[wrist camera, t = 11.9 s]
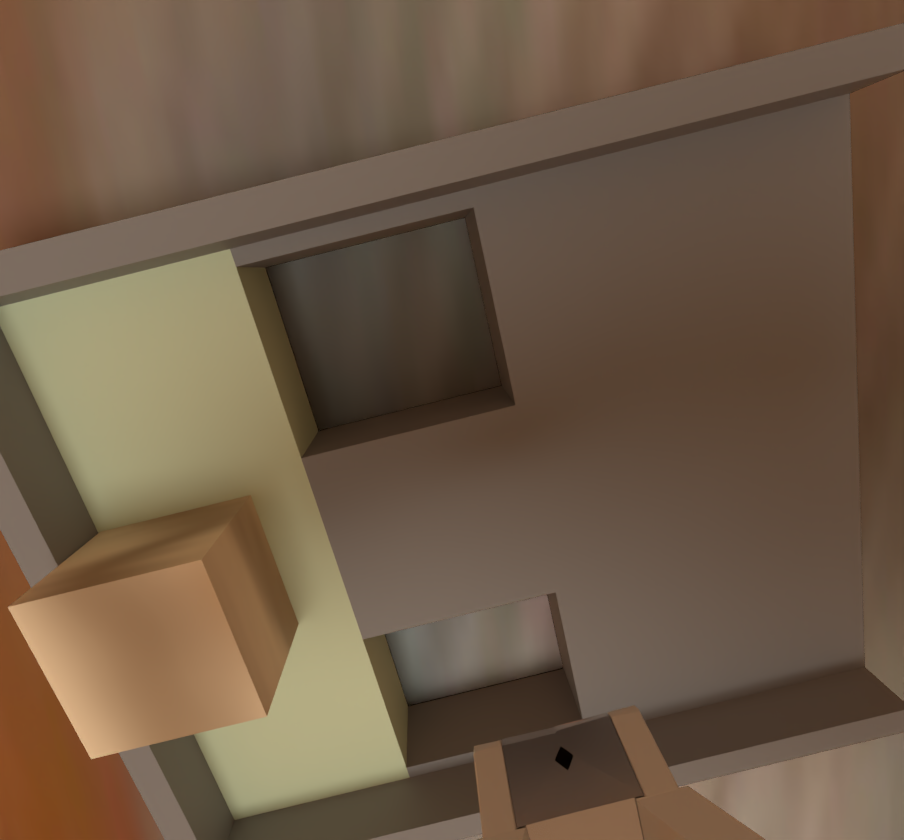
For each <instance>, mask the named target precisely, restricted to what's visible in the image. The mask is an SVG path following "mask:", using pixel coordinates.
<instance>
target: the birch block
mask: <svg viewBox="0 0 904 840" xmlns="http://www.w3.org/2000/svg"><path fill="white" fill-rule="evenodd" d="M8 608H9V610H10V612H11V614H12V616H13V617H14V619H15V621H16V623H17V625H18V627H19V628H20V630H21V632H22V634H23V636H24V638H25V639H26V641H27V643H28V645H29V647H30V649H31V650H32V652H33V654H34V656H35V658H36V659H37V661H38V663H39V665H40V667H41V669H42V670H43V672H44V674H45V676H46V678H47V680H48V681H49V683H50V685H51V687H52V689H53V690H54V692H55V694H56V696H57V698H58V700H59V701H60V703H61V705H62V707H63V709H64V711H65V712H66V714H67V716H68V718H69V720H70V721H71V723H72V725H73V727H74V729H75V731H76V732H77V734H78V736H79V738H80V740H81V742H82V743H83V745H84V747H85V749H86V751H87V753H88V754H89V756H90V758H91V759H94V758H98V757H102V756H106V755H110V754H114V753H119V752H123V751H127V750H131V749H135V748H139V747H143V746H147V745H152V744H156V743H160V742H164V741H168V740H172V739H176V738H181V737H185V736H189V735H193V734H197V733H201V732H205V731H209V730H214V729H218V728H222V727H226V726H230V725H234V724H238V723H243V722H247V721H251V720H255V719H259V718H263V717H267V715H268V712H269V709H270V706H271V703H272V701H273V698H274V695H275V692H276V689H277V686H278V683H279V680H280V677H281V674H282V671H283V668H284V666H285V663H286V660H287V657H288V654H289V651H290V648H291V645H292V642H293V639H294V636H295V633H296V631H297V628H298V625H299V623H298V621H297V618H296V615H295V613H294V610H293V607H292V605H291V602H290V599H289V597H288V594H287V591H286V589H285V586H284V583H283V581H282V578H281V575H280V573H279V570H278V567H277V565H276V562H275V559H274V557H273V554H272V551H271V549H270V546H269V543H268V541H267V538H266V535H265V532H264V530H263V527H262V524H261V522H260V519H259V516H258V514H257V511H256V508H255V506H254V503H253V500H252V498H251V495H249V496H245V497H240V498H236V499H232V500H228V501H224V502H220V503H216V504H212V505H208V506H204V507H200V508H196V509H191V510H187V511H183V512H179V513H175V514H171V515H167V516H163V517H159V518H155V519H151V520H147V521H142V522H138V523H134V524H130V525H126V526H122V527H118V528H114V529H110V530H106V531H102V532H99V533H98V534H97V535H96V536H94V537H93V538H92V539H91V540H89V541H88V542H87V543H86V544H85V545H83V546H82V547H81V548H80V549H78V550H77V551H76V552H75V553H74V554H72V555H71V556H70V557H69V558H67V559H66V560H65V561H64V562H62V563H61V564H60V565H59V566H58V567H56V568H55V569H54V570H53V571H51V572H50V573H49V574H48V575H47V576H45V577H44V578H43V579H42V580H40V581H39V582H38V583H37V584H35V585H34V586H33V587H32V588H31V589H29V590H28V591H27V592H26V593H24V594H23V595H22V596H21V597H20V598H18V599H17V600H16V601H15V602H13V603H12V604H11V605H10V606H8Z"/></svg>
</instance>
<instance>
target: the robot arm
mask: <svg viewBox="0 0 904 840" xmlns="http://www.w3.org/2000/svg"><path fill="white" fill-rule="evenodd" d="M473 756H474V765H475V774H476V782H477V791H478V800H479V809H480V818H481V826H482V835H483V838H481V839H478V840H765V839H764V838H763V837H761V836H760V835H758V834H757V833H755V832H754V831H752V830H751V829H750V828H748V827H747V826H745V825H744V824H742V823H741V822H739V821H738V820H736V819H735V818H734V817H732V816H731V815H729V814H728V813H726V812H725V811H723V810H722V809H721V808H719V807H718V806H716V805H715V804H713V803H712V802H710V801H709V800H707V799H706V798H705V797H703V796H702V795H700V794H699V793H697V792H696V791H694V790H693V789H692V788H690V787H689V786H685V787H681V788H679V787H678V785H677V783H676V781H675V779H674V777H673V775H672V773H671V771H670V769H669V767H668V765H667V764H666V762H665V760H664V758H663V756H662V754H661V752H660V750H659V748H658V746H657V744H656V742H655V740H654V738H653V736H652V734H651V732H650V730H649V728H648V727H647V725H646V723H645V721H644V719H643V717H642V715H641V713H640V711H639V709H638V708H637V707H636V706H634V705H633V706H629V707H626V708H622V709H618V710H614V711H611V712H608V714H607V713H602V714H599V715H595V716H591V717H588V718H584V719H580V720H577V721H573V722H569V723H565V724H562V725H558V726H554V727H553V728H549V729H544V730H540V731H536V732H531V733H527V734H522V735H518V736H514V737H509V738H505V739H502V741H501V740H498V741H494V742H490V743H485V744H481V745H477V746H474V753H473Z"/></svg>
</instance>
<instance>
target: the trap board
mask: <svg viewBox="0 0 904 840" xmlns="http://www.w3.org/2000/svg"><path fill="white" fill-rule="evenodd" d="M902 71H904V23H902V24H898V25H894V26H890V27H886V28H882V29H878V30H874V31H870V32H866V33H862V34H858V35H854V36H850V37H846V38H842V39H838V40H834V41H830V42H826V43H822V44H818V45H815V46H811V47H807V48H803V49H799V50H795V51H791V52H787V53H783V54H779V55H775V56H771V57H767V58H763V59H759V60H755V61H751V62H747V63H743V64H739V65H735V66H731V67H727V68H723V69H719V70H715V71H711V72H707V73H703V74H699V75H695V76H691V77H687V78H684V79H680V80H676V81H672V82H668V83H664V84H660V85H656V86H652V87H648V88H644V89H640V90H636V91H632V92H628V93H624V94H620V95H616V96H612V97H608V98H604V99H600V100H596V101H592V102H588V103H584V104H580V105H576V106H572V107H568V108H564V109H560V110H556V111H553V112H549V113H545V114H541V115H537V116H533V117H529V118H525V119H521V120H517V121H513V122H509V123H505V124H501V125H497V126H493V127H489V128H485V129H481V130H477V131H473V132H469V133H465V134H461V135H457V136H453V137H449V138H445V139H441V140H437V141H433V142H429V143H425V144H422V145H418V146H414V147H410V148H406V149H402V150H398V151H394V152H390V153H386V154H382V155H378V156H374V157H370V158H366V159H362V160H358V161H354V162H350V163H346V164H342V165H338V166H334V167H330V168H326V169H322V170H318V171H314V172H310V173H306V174H302V175H298V176H294V177H291V178H287V179H283V180H279V181H275V182H271V183H267V184H263V185H259V186H255V187H251V188H247V189H243V190H239V191H235V192H231V193H227V194H223V195H219V196H215V197H211V198H207V199H203V200H199V201H195V202H191V203H187V204H183V205H179V206H175V207H171V208H167V209H163V210H160V211H156V212H152V213H148V214H144V215H140V216H136V217H132V218H128V219H124V220H120V221H116V222H112V223H108V224H104V225H100V226H96V227H92V228H88V229H84V230H80V231H76V232H72V233H68V234H64V235H60V236H56V237H52V238H48V239H44V240H40V241H36V242H32V243H29V244H25V245H21V246H17V247H13V248H9V249H5V250H1V251H0V530H1V532H2V534H3V536H4V537H5V539H6V541H7V543H8V545H9V547H10V549H11V551H12V553H13V554H14V556H15V558H16V560H17V562H18V564H19V566H20V568H21V570H22V571H23V573H24V575H25V577H26V579H27V581H28V583H29V585H30V586H31V588H32V587H33V586H34V585H35V584H37V583H38V582H39V581H40V580H42V579H43V578H44V577H45V576H47V575H48V574H49V573H50V572H51V571H53V570H54V569H55V568H56V567H58V566H59V565H60V564H61V563H62V562H64V561H65V560H66V559H67V558H69V557H70V556H71V555H72V554H74V553H75V552H76V551H77V550H78V549H80V548H81V547H82V546H83V545H85V544H86V543H87V542H88V541H89V540H91V539H92V538H93V537H94V536H96V535H97V534H98V533H99V532H102V531H106V530H110V529H114V528H118V527H122V526H126V525H130V524H134V523H138V522H142V521H147V520H151V519H155V518H159V517H163V516H167V515H171V514H175V513H179V512H183V511H187V510H191V509H196V508H200V507H204V506H208V505H212V504H216V503H220V502H224V501H228V500H232V499H236V498H240V497H245V496H249V495H251V498H252V500H253V503H254V506H255V508H256V511H257V514H258V516H259V519H260V522H261V524H262V527H263V530H264V532H265V535H266V538H267V541H268V543H269V546H270V549H271V551H272V554H273V557H274V559H275V562H276V565H277V567H278V570H279V573H280V575H281V578H282V581H283V583H284V586H285V589H286V591H287V594H288V597H289V599H290V602H291V605H292V607H293V610H294V613H295V615H296V618H297V621H298V623H299V625H298V628H297V631H296V633H295V636H294V639H293V642H292V645H291V648H290V651H289V654H288V657H287V660H286V663H285V666H284V668H283V671H282V674H281V677H280V680H279V683H278V686H277V689H276V692H275V695H274V698H273V701H272V703H271V706H270V709H269V712H268V715H267V717H263V718H259V719H255V720H251V721H247V722H243V723H238V724H234V725H230V726H226V727H222V728H218V729H214V730H209V731H205V732H201V733H197V734H193V735H189V736H185V737H181V738H176V739H172V740H168V741H164V742H160V743H156V744H152V745H147V746H143V747H139V748H135V749H131V750H127V751H123V752H119V754H120V756H121V758H122V760H123V762H124V764H125V766H126V767H127V769H128V771H129V773H130V775H131V777H132V779H133V781H134V782H135V784H136V786H137V788H138V790H139V792H140V794H141V796H142V798H143V799H144V801H145V803H146V805H147V807H148V809H149V811H150V813H151V815H152V816H153V818H154V820H155V822H156V824H157V826H158V828H159V830H160V832H161V833H162V835H163V837H164V839H165V840H460V839H464V838H468V837H472V836H476V835H480V834H482V826H481V818H480V809H479V800H478V791H477V782H476V774H475V765H474V756H473V753H474V746H477V745H481V744H485V743H490V742H494V741H498V740H501V741H502V739H505V738H509V737H514V736H518V735H522V734H527V733H531V732H536V731H540V730H544V729H549V728H553V727H554V726H558V725H562V724H565V723H569V722H573V721H577V720H580V719H584V718H588V717H591V716H595V715H599V714H602V713H607V714H608V712H611V711H614V710H618V709H622V708H626V707H629V706H633V705H634V706H636V707H637V708H638V709H639V711H640V713H641V715H642V717H643V719H644V721H645V723H646V725H647V727H648V728H649V730H650V732H651V734H652V736H653V738H654V740H655V742H656V744H657V746H658V748H659V750H660V752H661V754H662V756H663V758H664V760H665V762H666V764H667V765H668V767H669V769H670V771H671V773H672V775H673V777H674V779H675V781H676V783H677V785H678V787H679V786H683V785H687V784H692V783H696V782H700V781H704V780H708V779H712V778H716V777H721V776H725V775H729V774H733V773H737V772H741V771H745V770H750V769H754V768H758V767H762V766H766V765H770V764H774V763H779V762H783V761H787V760H791V759H795V758H799V757H803V756H808V755H812V754H816V753H820V752H824V751H828V750H832V749H837V748H841V747H845V746H849V745H853V744H857V743H861V742H866V741H870V740H874V739H878V738H882V737H886V736H890V735H895V734H899V733H903V732H904V702H903V701H902V700H901V699H900V698H899V697H898V696H897V695H896V694H894V693H893V692H892V691H891V690H890V689H889V688H888V687H887V686H885V685H884V684H883V683H882V682H881V681H880V680H879V679H878V678H876V677H875V676H874V675H873V674H872V673H871V672H870V671H869V670H867V669H866V668H865V653H864V615H863V577H862V539H861V502H860V464H859V426H858V388H857V350H856V312H855V275H854V237H853V199H852V161H851V123H850V93H852V92H854V91H857V90H859V89H861V88H864V87H866V86H869V85H871V84H874V83H876V82H878V81H881V80H883V79H886V78H888V77H890V76H893V75H895V74H898V73H900V72H902ZM461 218H465V220H466V225H467V229H468V234H469V238H470V243H471V248H472V252H473V257H474V261H475V266H476V271H477V275H478V280H479V284H480V289H481V293H482V298H483V303H484V307H485V312H486V316H487V321H488V325H489V330H490V335H491V339H492V344H493V348H494V353H495V357H496V362H497V367H498V371H499V376H500V380H501V385H502V386H498V387H494V388H490V389H486V390H482V391H478V392H474V393H470V394H466V395H462V396H458V397H454V398H450V399H446V400H442V401H438V402H434V403H430V404H426V405H422V406H418V407H414V408H410V409H406V410H402V411H398V412H394V413H390V414H385V415H381V416H377V417H373V418H369V419H365V420H361V421H357V422H353V423H349V424H345V425H341V426H337V427H333V428H329V429H325V430H321V431H318V428H317V425H316V422H315V419H314V416H313V413H312V410H311V407H310V404H309V401H308V398H307V395H306V391H305V388H304V385H303V382H302V379H301V376H300V373H299V370H298V367H297V364H296V361H295V358H294V355H293V352H292V348H291V345H290V342H289V339H288V336H287V333H286V330H285V327H284V324H283V321H282V318H281V315H280V312H279V308H278V305H277V302H276V299H275V296H274V293H273V290H272V287H271V284H270V281H269V278H268V275H267V272H266V269H265V268H266V267H270V266H274V265H278V264H282V263H286V262H290V261H294V260H298V259H301V258H305V257H309V256H313V255H317V254H321V253H325V252H329V251H333V250H337V249H341V248H345V247H349V246H353V245H357V244H361V243H365V242H369V241H373V240H377V239H381V238H385V237H389V236H393V235H397V234H401V233H405V232H409V231H413V230H417V229H421V228H425V227H429V226H433V225H437V224H441V223H445V222H449V221H453V220H457V219H461ZM543 595H548V600H549V605H550V609H551V614H552V618H553V623H554V627H555V632H556V637H557V641H558V646H559V650H560V655H561V659H562V664H563V669H560V670H556V671H552V672H548V673H544V674H539V675H535V676H531V677H527V678H523V679H519V680H515V681H511V682H507V683H502V684H498V685H494V686H490V687H486V688H482V689H478V690H474V691H470V692H466V693H461V694H457V695H453V696H449V697H445V698H441V699H437V700H433V701H429V702H425V703H420V704H416V705H412V706H408V705H407V702H406V699H405V696H404V692H403V689H402V686H401V683H400V680H399V677H398V674H397V671H396V668H395V665H394V662H393V659H392V656H391V653H390V649H389V646H388V643H387V640H386V637H385V634H388V633H392V632H396V631H400V630H404V629H408V628H412V627H416V626H420V625H424V624H428V623H432V622H437V621H441V620H445V619H449V618H453V617H457V616H461V615H465V614H469V613H473V612H477V611H481V610H486V609H490V608H494V607H498V606H502V605H506V604H510V603H514V602H518V601H522V600H526V599H530V598H535V597H539V596H543Z"/></svg>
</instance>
